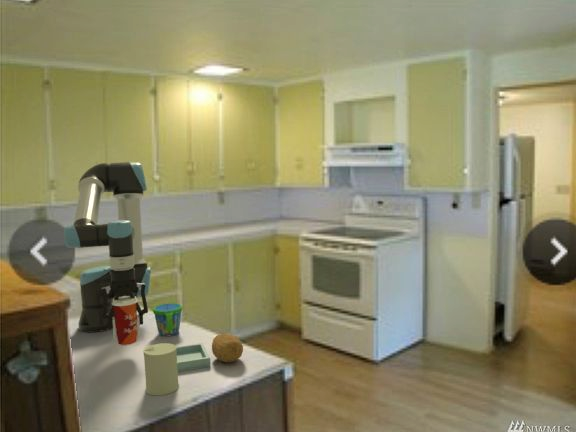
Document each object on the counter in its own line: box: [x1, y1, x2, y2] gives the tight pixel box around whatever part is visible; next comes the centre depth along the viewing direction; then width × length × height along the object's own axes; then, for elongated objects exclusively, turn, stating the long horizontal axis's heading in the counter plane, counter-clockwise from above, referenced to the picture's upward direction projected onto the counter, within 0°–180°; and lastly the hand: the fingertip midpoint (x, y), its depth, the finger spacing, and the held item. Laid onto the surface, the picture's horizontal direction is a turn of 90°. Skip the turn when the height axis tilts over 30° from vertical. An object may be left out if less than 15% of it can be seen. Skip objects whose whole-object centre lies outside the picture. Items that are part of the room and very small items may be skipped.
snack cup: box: [152, 302, 183, 337], centre depth 190 cm, size 16×10×10 cm
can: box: [143, 342, 180, 396], centre depth 144 cm, size 9×9×12 cm
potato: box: [211, 332, 244, 363], centre depth 163 cm, size 10×14×8 cm
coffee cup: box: [111, 296, 139, 346], centre depth 168 cm, size 8×8×15 cm
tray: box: [176, 342, 211, 373], centre depth 163 cm, size 14×13×3 cm
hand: (127, 335), depth 169 cm, fingers closed on coffee cup, 7 cm apart
